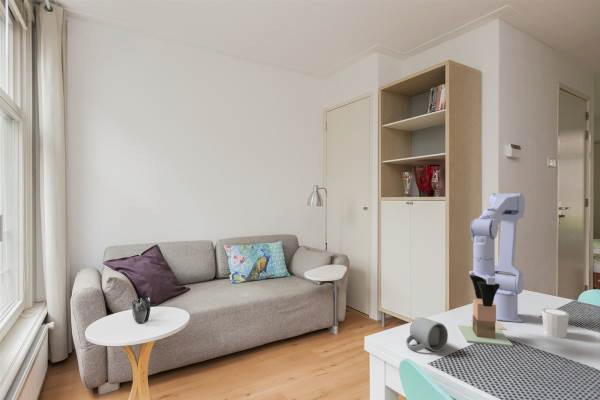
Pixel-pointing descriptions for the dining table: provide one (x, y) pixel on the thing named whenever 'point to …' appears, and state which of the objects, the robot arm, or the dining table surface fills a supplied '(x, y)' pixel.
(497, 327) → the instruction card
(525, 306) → the dining table surface
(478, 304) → the terracotta block
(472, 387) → the dining table surface
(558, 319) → the white cup
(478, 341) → the plate
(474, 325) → the walnut block
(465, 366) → the dining table surface
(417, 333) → the ceramic mug
